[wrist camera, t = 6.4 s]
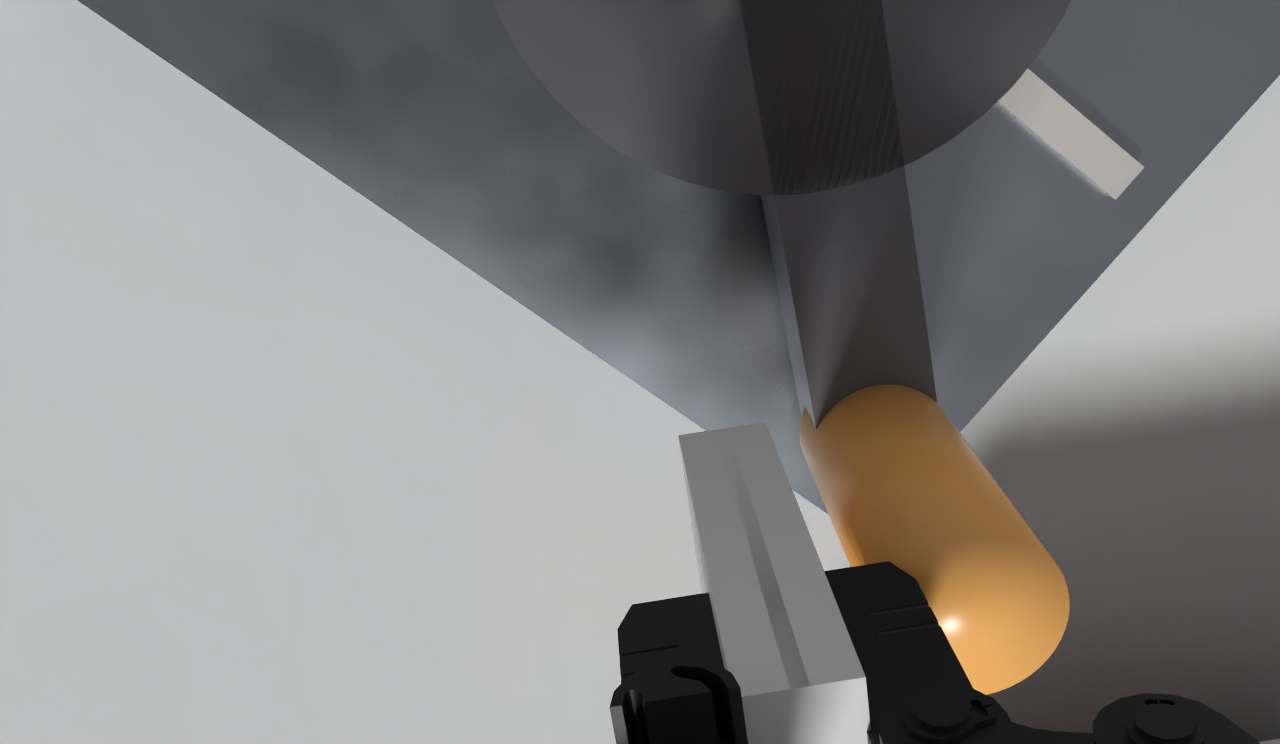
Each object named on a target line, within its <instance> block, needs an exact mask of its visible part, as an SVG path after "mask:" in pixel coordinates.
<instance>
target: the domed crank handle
mask: <svg viewBox="0 0 1280 744" xmlns="http://www.w3.org/2000/svg"><path fill="white" fill-rule="evenodd" d="M492 2H493V4H494V7H495V9H496V11H497V13H498V15H499V17H500V20H501V22H502V24H503V26H504V28H505V30H506V32H507V33H508V35H509V37H510V38H511V40H512V41H513V43H514V45H515V46H516V48H517V49H518V51H519V53H520V54H521V56H522V57H523V59H524V61H525V62H526V64H527V66H528V67H529V68H530V69H531V70H532V72H533V73H534V74H535V75H536V77H537V78H538V79H539V80H540V81H541V83H542V84H543V85H544V86H545V88H546V89H547V90H548V91H549V93H550V94H551V95H552V96H553V97H554V98H555V99H556V100H557V101H558V102H559V103H560V104H561V105H562V106H563V107H564V108H565V109H566V110H567V111H568V112H569V113H570V114H571V115H572V116H573V117H575V118H576V119H577V120H578V121H579V122H580V123H581V124H582V125H583V126H584V127H586V128H587V129H588V130H590V131H591V132H592V133H594V134H595V135H597V136H598V137H599V138H601V139H602V140H603V141H605V142H606V143H608V144H609V145H610V146H612V147H613V148H614V149H616V150H618V151H620V152H621V153H623V154H625V155H627V156H629V157H631V158H632V159H634V160H636V161H638V162H640V163H642V164H643V165H645V166H647V167H649V168H651V169H654V170H656V171H659V172H661V173H664V174H667V175H669V176H672V177H674V178H677V179H680V180H682V181H685V182H688V183H692V184H696V185H700V186H705V187H709V188H713V189H717V190H721V191H727V192H737V193H746V194H756V195H761V199H762V205H763V210H764V216H765V221H766V227H767V232H768V237H769V243H770V248H771V254H772V259H773V265H774V270H775V276H776V281H777V287H778V292H779V297H780V303H781V308H782V314H783V319H784V325H785V330H786V336H787V341H788V346H789V352H790V357H791V363H792V368H793V374H794V379H795V385H796V390H797V396H798V401H799V406H800V412H801V422H800V433H799V436H800V444H801V448H802V452H803V454H804V456H805V459H806V461H807V464H808V466H809V468H810V471H811V473H812V476H813V478H814V480H815V483H816V485H817V488H818V490H819V492H820V495H821V497H822V499H823V502H824V504H825V507H826V509H827V511H828V514H829V516H830V519H831V521H832V523H833V526H834V528H835V530H836V533H837V535H838V538H839V540H840V542H841V545H842V547H843V550H844V552H845V554H846V557H847V559H848V561H849V564H850V566H851V567H855V566H861V565H868V564H874V563H880V562H887V561H890V562H891V563H893V564H894V565H896V566H897V567H899V568H900V569H902V570H903V571H905V572H906V573H908V574H909V575H911V576H912V577H914V578H915V579H916V580H917V582H918V584H919V586H920V588H921V590H922V592H923V594H924V596H925V597H926V599H927V601H928V605H929V607H931V609H932V611H933V613H934V615H935V616H936V618H937V620H938V624H939V626H941V628H942V630H943V632H944V634H945V635H946V637H947V639H948V641H949V643H950V645H951V647H952V649H953V651H954V653H955V654H956V656H957V658H958V660H959V662H960V664H961V666H962V668H963V670H964V672H965V673H966V675H967V677H968V679H969V681H970V683H971V685H972V687H973V689H975V690H977V691H979V692H981V693H983V694H985V695H988V694H992V693H995V692H999V691H1001V690H1004V689H1006V688H1009V687H1011V686H1013V685H1015V684H1017V683H1019V682H1021V681H1022V680H1024V679H1025V678H1027V677H1028V676H1030V675H1031V674H1032V673H1034V672H1035V671H1036V670H1037V669H1039V668H1040V667H1041V666H1042V665H1043V664H1044V663H1045V662H1046V661H1047V660H1048V658H1049V657H1050V656H1051V654H1052V653H1053V652H1054V651H1055V649H1056V647H1057V646H1058V644H1059V642H1060V641H1061V639H1062V636H1063V634H1064V632H1065V629H1066V626H1067V622H1068V618H1069V610H1070V597H1069V592H1068V586H1067V583H1066V581H1065V578H1064V576H1063V574H1062V572H1061V570H1060V568H1059V567H1058V565H1057V564H1056V562H1055V561H1054V560H1053V558H1052V557H1051V556H1050V554H1049V553H1048V552H1047V550H1046V549H1045V548H1044V546H1043V545H1042V543H1041V542H1040V541H1039V539H1038V538H1037V537H1036V535H1035V534H1034V533H1033V531H1032V530H1031V529H1030V527H1029V526H1028V524H1027V523H1026V522H1025V520H1024V519H1023V518H1022V516H1021V515H1020V514H1019V512H1018V511H1017V509H1016V508H1015V507H1014V505H1013V504H1012V503H1011V501H1010V500H1009V499H1008V497H1007V496H1006V495H1005V493H1004V492H1003V490H1002V489H1001V488H1000V486H999V485H998V484H997V482H996V481H995V480H994V478H993V477H992V475H991V474H990V473H989V471H988V470H987V469H986V467H985V466H984V465H983V463H982V462H981V461H980V459H979V458H978V456H977V455H976V454H975V452H974V451H973V450H972V448H971V447H970V446H969V444H968V443H967V442H966V440H965V439H964V437H963V436H962V435H961V433H960V432H959V431H958V429H957V428H956V427H955V425H954V424H953V422H952V421H951V420H950V418H949V417H948V416H947V414H946V413H945V412H944V410H943V409H942V408H941V406H940V405H939V403H938V402H937V397H936V389H935V382H934V375H933V368H932V361H931V353H930V346H929V339H928V332H927V325H926V317H925V310H924V303H923V296H922V289H921V282H920V274H919V267H918V260H917V253H916V246H915V238H914V231H913V224H912V217H911V210H910V203H909V195H908V188H907V181H906V174H905V167H904V166H905V165H907V164H910V163H912V162H914V161H916V160H918V159H920V158H921V157H923V156H925V155H926V154H928V153H930V152H931V151H933V150H935V149H937V148H938V147H940V146H942V145H943V144H945V143H947V142H949V141H950V140H951V139H953V138H954V137H955V136H957V135H958V134H959V133H961V132H962V131H963V130H965V129H966V128H967V127H969V126H970V125H971V124H973V123H974V122H975V121H976V120H978V119H979V118H980V117H982V116H983V115H984V114H985V113H986V112H987V111H988V110H989V109H990V108H991V107H992V106H993V105H994V104H995V103H996V102H997V101H998V100H999V99H1001V98H1002V97H1003V96H1004V95H1005V94H1006V93H1007V92H1008V91H1009V90H1010V89H1011V88H1012V87H1013V86H1014V85H1015V83H1016V82H1017V81H1018V80H1019V78H1020V77H1021V76H1022V75H1023V74H1024V72H1025V71H1026V70H1027V69H1028V67H1029V66H1030V65H1031V64H1032V63H1033V61H1034V60H1035V59H1036V58H1037V56H1038V55H1039V54H1040V53H1041V51H1042V49H1043V48H1044V46H1045V45H1046V43H1047V42H1048V40H1049V38H1050V37H1051V35H1052V34H1053V32H1054V31H1055V29H1056V28H1057V26H1058V24H1059V23H1060V21H1061V20H1062V18H1063V17H1064V15H1065V12H1066V10H1067V8H1068V6H1069V4H1070V2H1071V0H492Z"/></svg>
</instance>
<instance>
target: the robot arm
mask: <svg viewBox="0 0 1280 744" xmlns="http://www.w3.org/2000/svg"><path fill="white" fill-rule="evenodd" d="M679 442H680V449H681V456H682V462H683V469H684V476H685V482H686V489H687V496H688V502H689V509H690V516H691V522H692V529H693V536H694V542H695V549H696V556H697V562H698V569H699V576H700V582H701V589H702V594H696V595H690V596H684V597H677V598H671V599H665V600H659V601H652V602H646V603H640V604H633V605H632V606H631V607H630V609H629V611H628V613H627V614H626V616H625V618H624V619H623V621H622V623H621V624H620V626H619V628H618V642H619V655H620V671H621V685H620V686H619V687H618V688H617V689H616V690H615V691H614V693H613V697H612V701H611V705H610V711H611V717H612V722H613V727H614V733H615V738H616V743H617V744H1260V743H1259V742H1257V741H1256V740H1255V739H1253V738H1252V737H1251V736H1249V735H1248V734H1247V733H1246V732H1244V731H1243V730H1242V729H1240V728H1239V727H1238V726H1236V725H1235V724H1234V723H1232V722H1231V721H1230V720H1228V719H1227V718H1226V717H1225V716H1223V715H1222V714H1220V713H1218V712H1216V711H1215V710H1213V709H1211V708H1209V707H1207V706H1206V705H1204V704H1202V703H1200V702H1197V701H1194V700H1190V699H1186V698H1182V697H1179V696H1175V695H1166V694H1140V695H1135V696H1129V697H1124V698H1120V699H1118V700H1116V701H1115V702H1113V703H1111V704H1109V705H1107V706H1106V707H1104V708H1102V710H1101V711H1100V713H1099V714H1098V716H1097V717H1096V719H1095V720H1094V722H1093V734H1088V733H1071V732H1055V731H1047V730H1040V729H1033V728H1030V727H1026V726H1023V725H1020V724H1016V723H1013V722H1011V720H1010V718H1009V716H1008V714H1007V713H1006V712H1005V710H1004V709H1003V708H1002V707H1001V706H1000V705H999V704H998V703H997V702H996V701H995V700H994V699H993V698H991V697H989V696H987V695H985V694H983V693H981V692H979V691H977V690H975V689H973V687H972V685H971V683H970V681H969V679H968V677H967V675H966V673H965V672H964V670H963V668H962V666H961V664H960V662H959V660H958V658H957V656H956V654H955V653H954V651H953V649H952V647H951V645H950V643H949V641H948V639H947V637H946V635H945V634H944V632H943V630H942V628H941V626H939V624H938V620H937V618H936V616H935V615H934V613H933V611H932V609H931V607H929V605H928V601H927V599H926V597H925V596H924V594H923V592H922V590H921V588H920V586H919V584H918V582H917V580H916V579H915V578H914V577H912V576H911V575H909V574H908V573H906V572H905V571H903V570H902V569H900V568H899V567H897V566H896V565H894V564H893V563H891V562H890V561H887V562H880V563H874V564H868V565H861V566H855V567H849V568H843V569H836V570H830V571H824V570H823V567H822V564H821V562H820V559H819V557H818V554H817V552H816V549H815V547H814V544H813V542H812V539H811V536H810V534H809V531H808V529H807V526H806V524H805V521H804V519H803V516H802V513H801V511H800V508H799V506H798V503H797V501H796V498H795V496H794V493H793V491H792V488H791V485H790V483H789V480H788V478H787V475H786V473H785V470H784V468H783V465H782V462H781V460H780V457H779V455H778V452H777V450H776V447H775V445H774V442H773V440H772V437H771V434H770V432H769V429H768V427H767V424H766V422H761V423H755V424H748V425H742V426H736V427H729V428H723V429H717V430H710V431H704V432H698V433H691V434H685V435H679Z"/></svg>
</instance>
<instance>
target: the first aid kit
mask: <svg viewBox="0 0 1280 744" xmlns="http://www.w3.org/2000/svg"><path fill="white" fill-rule="evenodd" d="M1259 743H1260V744H1280V739H1274V740H1268V741H1261V742H1259Z"/></svg>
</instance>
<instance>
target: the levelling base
mask: <svg viewBox="0 0 1280 744" xmlns="http://www.w3.org/2000/svg"><path fill="white" fill-rule="evenodd" d="M78 1H79V2H81V3H82V4H84V5H85V6H87V7H88V8H90V9H91V10H92V11H94V12H95V13H97V14H98V15H100V16H101V17H103V18H104V19H106V20H107V21H109V22H110V23H111V24H113V25H114V26H116V27H117V28H119V29H120V30H122V31H123V32H125V33H126V34H128V35H129V36H130V37H132V38H133V39H135V40H136V41H138V42H139V43H141V44H142V45H144V46H145V47H147V48H148V49H149V50H151V51H152V52H154V53H155V54H157V55H158V56H160V57H161V58H163V59H164V60H166V61H167V62H168V63H170V64H171V65H173V66H174V67H176V68H177V69H179V70H180V71H182V72H183V73H184V74H186V75H187V76H189V77H190V78H192V79H193V80H195V81H196V82H198V83H199V84H201V85H202V86H203V87H205V88H206V89H208V90H209V91H211V92H212V93H214V94H215V95H217V96H218V97H220V98H221V99H222V100H224V101H225V102H227V103H228V104H230V105H231V106H233V107H234V108H236V109H237V110H239V111H240V112H241V113H243V114H244V115H246V116H247V117H249V118H250V119H252V120H253V121H255V122H256V123H258V124H259V125H260V126H262V127H263V128H265V129H266V130H268V131H269V132H271V133H272V134H274V135H275V136H277V137H278V138H279V139H281V140H282V141H284V142H285V143H287V144H288V145H290V146H291V147H293V148H294V149H296V150H297V151H298V152H300V153H301V154H303V155H304V156H306V157H307V158H309V159H310V160H312V161H313V162H315V163H316V164H317V165H319V166H320V167H322V168H323V169H325V170H326V171H328V172H329V173H331V174H332V175H334V176H335V177H336V178H338V179H339V180H341V181H342V182H344V183H345V184H347V185H348V186H350V187H351V188H353V189H354V190H355V191H357V192H358V193H360V194H361V195H363V196H364V197H366V198H367V199H369V200H370V201H372V202H373V203H374V204H376V205H377V206H379V207H380V208H382V209H383V210H385V211H386V212H388V213H389V214H391V215H392V216H393V217H395V218H396V219H398V220H399V221H401V222H402V223H404V224H405V225H407V226H408V227H410V228H411V229H412V230H414V231H415V232H417V233H418V234H420V235H421V236H423V237H424V238H426V239H427V240H429V241H430V242H431V243H433V244H434V245H436V246H437V247H439V248H440V249H442V250H443V251H445V252H446V253H448V254H449V255H450V256H452V257H453V258H455V259H456V260H458V261H459V262H461V263H462V264H464V265H465V266H466V267H468V268H469V269H471V270H472V271H474V272H475V273H477V274H478V275H480V276H481V277H483V278H484V279H485V280H487V281H488V282H490V283H491V284H493V285H494V286H496V287H497V288H499V289H500V290H502V291H503V292H504V293H506V294H507V295H509V296H510V297H512V298H513V299H515V300H516V301H518V302H519V303H521V304H522V305H523V306H525V307H526V308H528V309H529V310H531V311H532V312H534V313H535V314H537V315H538V316H540V317H541V318H542V319H544V320H545V321H547V322H548V323H550V324H551V325H553V326H554V327H556V328H557V329H559V330H560V331H561V332H563V333H564V334H566V335H567V336H569V337H570V338H572V339H573V340H575V341H576V342H578V343H579V344H580V345H582V346H583V347H585V348H586V349H588V350H589V351H591V352H592V353H594V354H595V355H597V356H598V357H599V358H601V359H602V360H604V361H605V362H607V363H608V364H610V365H611V366H613V367H614V368H616V369H617V370H618V371H620V372H621V373H623V374H624V375H626V376H627V377H629V378H630V379H632V380H633V381H635V382H636V383H637V384H639V385H640V386H642V387H643V388H645V389H646V390H648V391H649V392H651V393H652V394H654V395H655V396H656V397H658V398H659V399H661V400H662V401H664V402H665V403H667V404H668V405H670V406H671V407H673V408H674V409H675V410H677V411H678V412H680V413H681V414H683V415H684V416H686V417H687V418H689V419H690V420H692V421H693V422H694V423H696V424H697V425H699V426H700V427H702V428H703V429H705V430H706V431H710V430H717V429H723V428H729V427H736V426H742V425H748V424H755V423H761V422H766V424H767V427H768V429H769V432H770V434H771V437H772V440H773V442H774V445H775V447H776V450H777V452H778V455H779V457H780V460H781V462H782V465H783V468H784V470H785V473H786V475H787V478H788V480H789V483H790V485H791V488H792V490H794V491H795V492H797V493H798V494H800V495H801V496H803V497H804V498H805V499H807V500H808V501H810V502H811V503H813V504H814V505H816V506H817V507H819V508H820V509H822V510H823V511H824V512H826V513H827V514H828V511H827V509H826V507H825V504H824V502H823V499H822V497H821V495H820V492H819V490H818V488H817V485H816V483H815V480H814V478H813V476H812V473H811V471H810V468H809V466H808V464H807V461H806V459H805V456H804V454H803V452H802V448H801V444H800V436H799V433H800V422H801V412H800V406H799V401H798V396H797V390H796V385H795V379H794V374H793V368H792V363H791V357H790V352H789V346H788V341H787V336H786V330H785V325H784V319H783V314H782V308H781V303H780V297H779V292H778V287H777V281H776V276H775V270H774V265H773V259H772V254H771V248H770V243H769V237H768V232H767V227H766V221H765V216H764V210H763V205H762V199H761V195H756V194H746V193H737V192H727V191H721V190H717V189H713V188H709V187H705V186H700V185H696V184H692V183H688V182H685V181H682V180H680V179H677V178H674V177H672V176H669V175H667V174H664V173H661V172H659V171H656V170H654V169H651V168H649V167H647V166H645V165H643V164H642V163H640V162H638V161H636V160H634V159H632V158H631V157H629V156H627V155H625V154H623V153H621V152H620V151H618V150H616V149H614V148H613V147H612V146H610V145H609V144H608V143H606V142H605V141H603V140H602V139H601V138H599V137H598V136H597V135H595V134H594V133H592V132H591V131H590V130H588V129H587V128H586V127H584V126H583V125H582V124H581V123H580V122H579V121H578V120H577V119H576V118H575V117H573V116H572V115H571V114H570V113H569V112H568V111H567V110H566V109H565V108H564V107H563V106H562V105H561V104H560V103H559V102H558V101H557V100H556V99H555V98H554V97H553V96H552V95H551V94H550V93H549V91H548V90H547V89H546V88H545V86H544V85H543V84H542V83H541V81H540V80H539V79H538V78H537V77H536V75H535V74H534V73H533V72H532V70H531V69H530V68H529V67H528V66H527V64H526V62H525V61H524V59H523V57H522V56H521V54H520V53H519V51H518V49H517V48H516V46H515V45H514V43H513V41H512V40H511V38H510V37H509V35H508V33H507V32H506V30H505V28H504V26H503V24H502V22H501V20H500V17H499V15H498V13H497V11H496V9H495V7H494V4H493V2H492V0H78ZM1279 75H1280V0H1071V2H1070V4H1069V6H1068V8H1067V10H1066V12H1065V15H1064V17H1063V18H1062V20H1061V21H1060V23H1059V24H1058V26H1057V28H1056V29H1055V31H1054V32H1053V34H1052V35H1051V37H1050V38H1049V40H1048V42H1047V43H1046V45H1045V46H1044V48H1043V49H1042V51H1041V53H1040V54H1039V55H1038V56H1037V58H1036V59H1035V60H1034V61H1033V63H1032V64H1031V65H1030V66H1029V67H1028V69H1027V70H1026V71H1025V72H1024V74H1023V75H1022V76H1021V77H1020V78H1019V80H1018V81H1017V82H1016V83H1015V85H1014V86H1013V87H1012V88H1011V89H1010V90H1009V91H1008V92H1007V93H1006V94H1005V95H1004V96H1003V97H1002V98H1001V99H999V100H998V101H997V102H996V103H995V104H994V105H993V106H992V107H991V108H990V109H989V110H988V111H987V112H986V113H985V114H984V115H983V116H982V117H980V118H979V119H978V120H976V121H975V122H974V123H973V124H971V125H970V126H969V127H967V128H966V129H965V130H963V131H962V132H961V133H959V134H958V135H957V136H955V137H954V138H953V139H951V140H950V141H949V142H947V143H945V144H943V145H942V146H940V147H938V148H937V149H935V150H933V151H931V152H930V153H928V154H926V155H925V156H923V157H921V158H920V159H918V160H916V161H914V162H912V163H910V164H907V165H905V166H904V167H905V174H906V181H907V188H908V195H909V203H910V210H911V217H912V224H913V231H914V238H915V246H916V253H917V260H918V267H919V274H920V282H921V289H922V296H923V303H924V310H925V317H926V325H927V332H928V339H929V346H930V353H931V361H932V368H933V375H934V382H935V389H936V397H937V402H938V403H939V405H940V406H941V408H942V409H943V410H944V412H945V413H946V414H947V416H948V417H949V418H950V420H951V421H952V422H953V424H954V425H955V427H956V428H957V429H958V431H959V432H961V431H962V429H963V428H964V427H965V426H966V425H967V424H968V423H969V422H970V420H971V419H972V418H973V417H974V416H975V415H976V414H977V413H978V412H979V410H980V409H981V408H982V407H983V406H984V405H985V404H986V403H987V401H988V400H989V399H990V398H991V397H992V396H993V395H994V394H995V393H996V391H997V390H998V389H999V388H1000V387H1001V386H1002V385H1003V384H1004V382H1005V381H1006V380H1007V379H1008V378H1009V377H1010V376H1011V375H1012V374H1013V372H1014V371H1015V370H1016V369H1017V368H1018V367H1019V366H1020V365H1021V363H1022V362H1023V361H1024V360H1025V359H1026V358H1027V357H1028V356H1029V355H1030V353H1031V352H1032V351H1033V350H1034V349H1035V348H1036V347H1037V346H1038V344H1039V343H1040V342H1041V341H1042V340H1043V339H1044V338H1045V337H1046V335H1047V334H1048V333H1049V332H1050V331H1051V330H1052V329H1053V328H1054V327H1055V325H1056V324H1057V323H1058V322H1059V321H1060V320H1061V319H1062V318H1063V316H1064V315H1065V314H1066V313H1067V312H1068V311H1069V310H1070V309H1071V308H1072V306H1073V305H1074V304H1075V303H1076V302H1077V301H1078V300H1079V299H1080V297H1081V296H1082V295H1083V294H1084V293H1085V292H1086V291H1087V290H1088V289H1089V287H1090V286H1091V285H1092V284H1093V283H1094V282H1095V281H1096V280H1097V278H1098V277H1099V276H1100V275H1101V274H1102V273H1103V272H1104V271H1105V269H1106V268H1107V267H1108V266H1109V265H1110V264H1111V263H1112V262H1113V261H1114V259H1115V258H1116V257H1117V256H1118V255H1119V254H1120V253H1121V252H1122V250H1123V249H1124V248H1125V247H1126V246H1127V245H1128V244H1129V243H1130V242H1131V240H1132V239H1133V238H1134V237H1135V236H1136V235H1137V234H1138V233H1139V231H1140V230H1141V229H1142V228H1143V227H1144V226H1145V225H1146V224H1147V223H1148V221H1149V220H1150V219H1151V218H1152V217H1153V216H1154V215H1155V214H1156V212H1157V211H1158V210H1159V209H1160V208H1161V207H1162V206H1163V205H1164V204H1165V202H1166V201H1167V200H1168V199H1169V198H1170V197H1171V196H1172V195H1173V193H1174V192H1175V191H1176V190H1177V189H1178V188H1179V187H1180V186H1181V184H1182V183H1183V182H1184V181H1185V180H1186V179H1187V178H1188V177H1189V176H1190V174H1191V173H1192V172H1193V171H1194V170H1195V169H1196V168H1197V167H1198V165H1199V164H1200V163H1201V162H1202V161H1203V160H1204V159H1205V158H1206V157H1207V155H1208V154H1209V153H1210V152H1211V151H1212V150H1213V149H1214V148H1215V146H1216V145H1217V144H1218V143H1219V142H1220V141H1221V140H1222V139H1223V138H1224V136H1225V135H1226V134H1227V133H1228V132H1229V131H1230V130H1231V129H1232V127H1233V126H1234V125H1235V124H1236V123H1237V122H1238V121H1239V120H1240V119H1241V117H1242V116H1243V115H1244V114H1245V113H1246V112H1247V111H1248V110H1249V108H1250V107H1251V106H1252V105H1253V104H1254V103H1255V102H1256V101H1257V99H1258V98H1259V97H1260V96H1261V95H1262V94H1263V93H1264V92H1265V91H1266V89H1267V88H1268V87H1269V86H1270V85H1271V84H1272V83H1273V82H1274V80H1275V79H1276V78H1277V77H1278V76H1279Z"/></svg>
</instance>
